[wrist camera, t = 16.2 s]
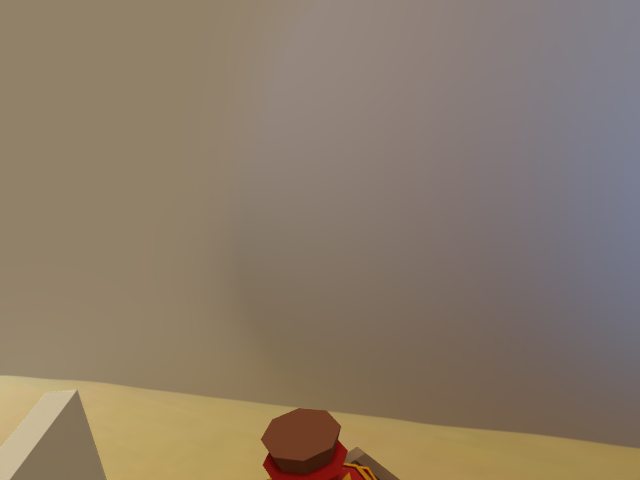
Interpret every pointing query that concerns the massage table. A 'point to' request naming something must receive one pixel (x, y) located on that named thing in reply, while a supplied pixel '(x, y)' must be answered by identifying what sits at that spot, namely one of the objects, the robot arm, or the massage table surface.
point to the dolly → (368, 464)
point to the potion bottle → (308, 449)
